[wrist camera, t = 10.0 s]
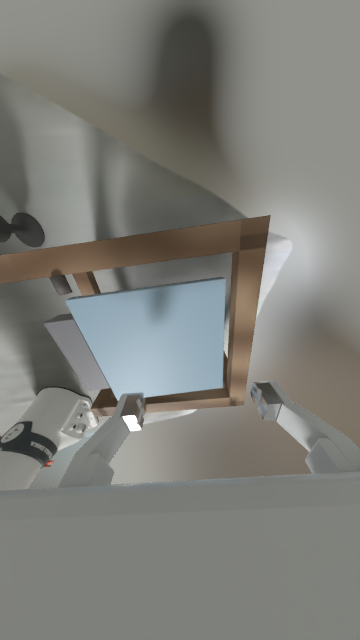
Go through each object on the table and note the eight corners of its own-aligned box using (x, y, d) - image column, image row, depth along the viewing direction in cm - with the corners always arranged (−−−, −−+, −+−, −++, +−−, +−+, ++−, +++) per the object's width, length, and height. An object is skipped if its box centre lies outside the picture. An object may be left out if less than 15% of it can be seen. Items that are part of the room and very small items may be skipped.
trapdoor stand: (215, 340, 33) (245, 408, 19) (130, 349, 35) (93, 420, 20) (215, 238, 24) (275, 213, 9) (96, 255, 25) (-26, 257, 10)
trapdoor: (216, 372, 20) (222, 387, 18) (100, 387, 20) (91, 404, 18) (216, 274, 14) (225, 278, 11) (48, 297, 14) (25, 305, 12)
